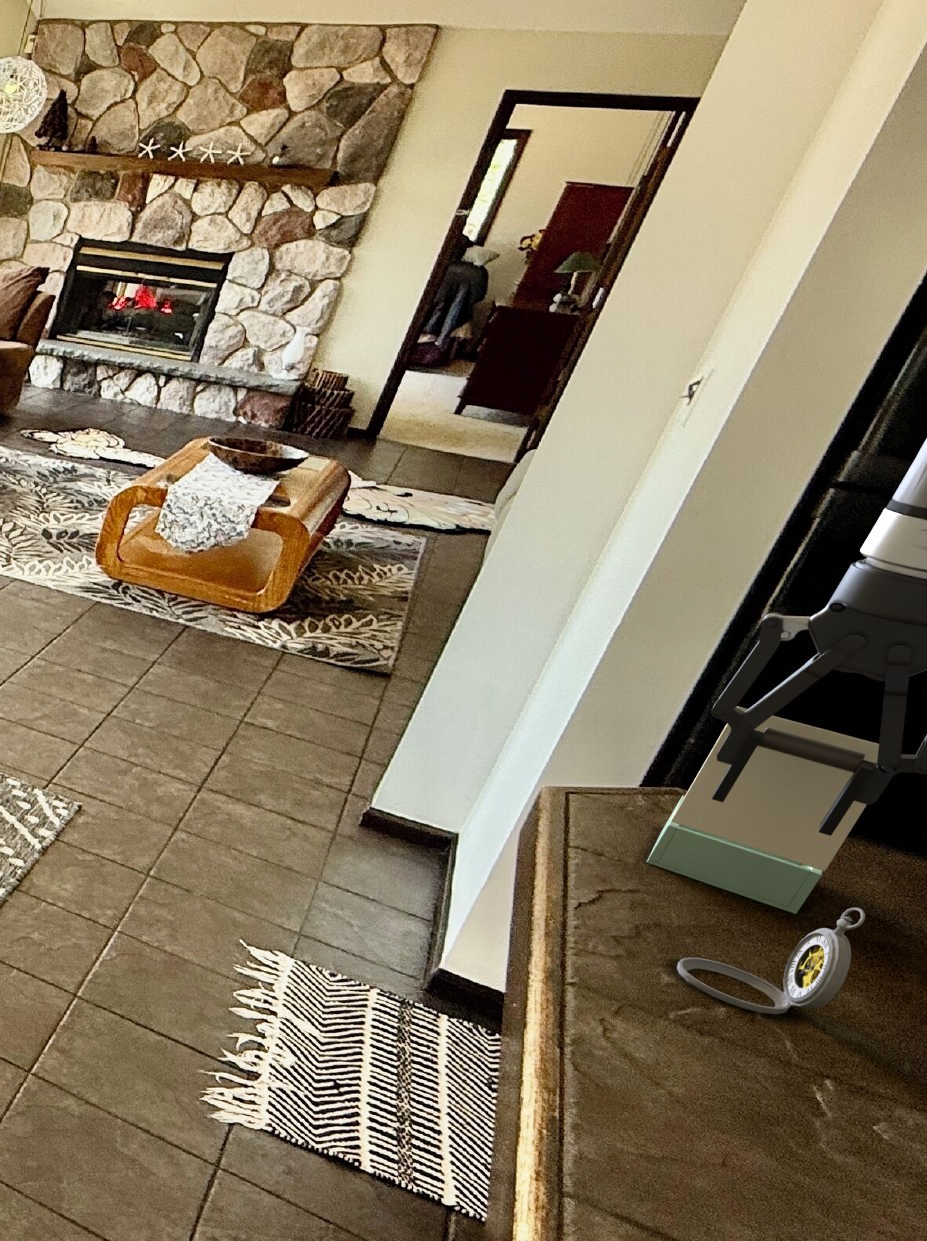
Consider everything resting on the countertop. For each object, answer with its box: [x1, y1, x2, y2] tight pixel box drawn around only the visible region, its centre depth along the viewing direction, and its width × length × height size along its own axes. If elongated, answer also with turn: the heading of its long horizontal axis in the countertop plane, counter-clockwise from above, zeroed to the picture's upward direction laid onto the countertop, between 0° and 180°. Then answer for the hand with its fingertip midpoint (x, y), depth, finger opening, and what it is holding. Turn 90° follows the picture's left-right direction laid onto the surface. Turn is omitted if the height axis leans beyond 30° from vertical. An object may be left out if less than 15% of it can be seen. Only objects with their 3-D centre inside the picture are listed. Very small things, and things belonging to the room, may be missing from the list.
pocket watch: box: [676, 907, 866, 1015], centre depth 95 cm, size 8×8×10 cm
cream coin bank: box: [671, 706, 879, 872], centre depth 107 cm, size 12×10×9 cm
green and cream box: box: [646, 795, 823, 915], centre depth 116 cm, size 11×10×5 cm
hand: (771, 812), depth 105 cm, fingers closed on cream coin bank, 6 cm apart
